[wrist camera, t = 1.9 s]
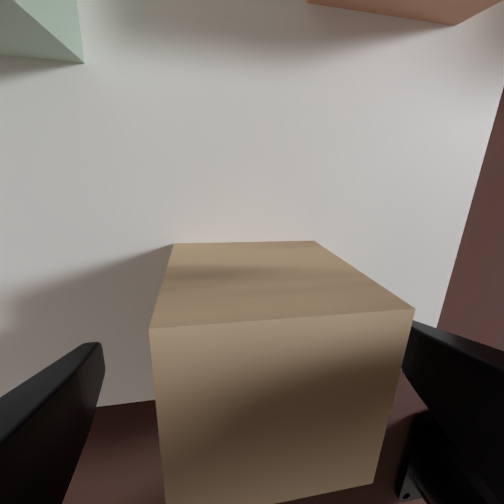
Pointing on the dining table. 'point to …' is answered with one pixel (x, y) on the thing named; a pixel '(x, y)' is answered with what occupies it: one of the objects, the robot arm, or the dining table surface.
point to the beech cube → (271, 371)
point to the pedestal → (41, 30)
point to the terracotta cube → (416, 8)
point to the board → (230, 160)
